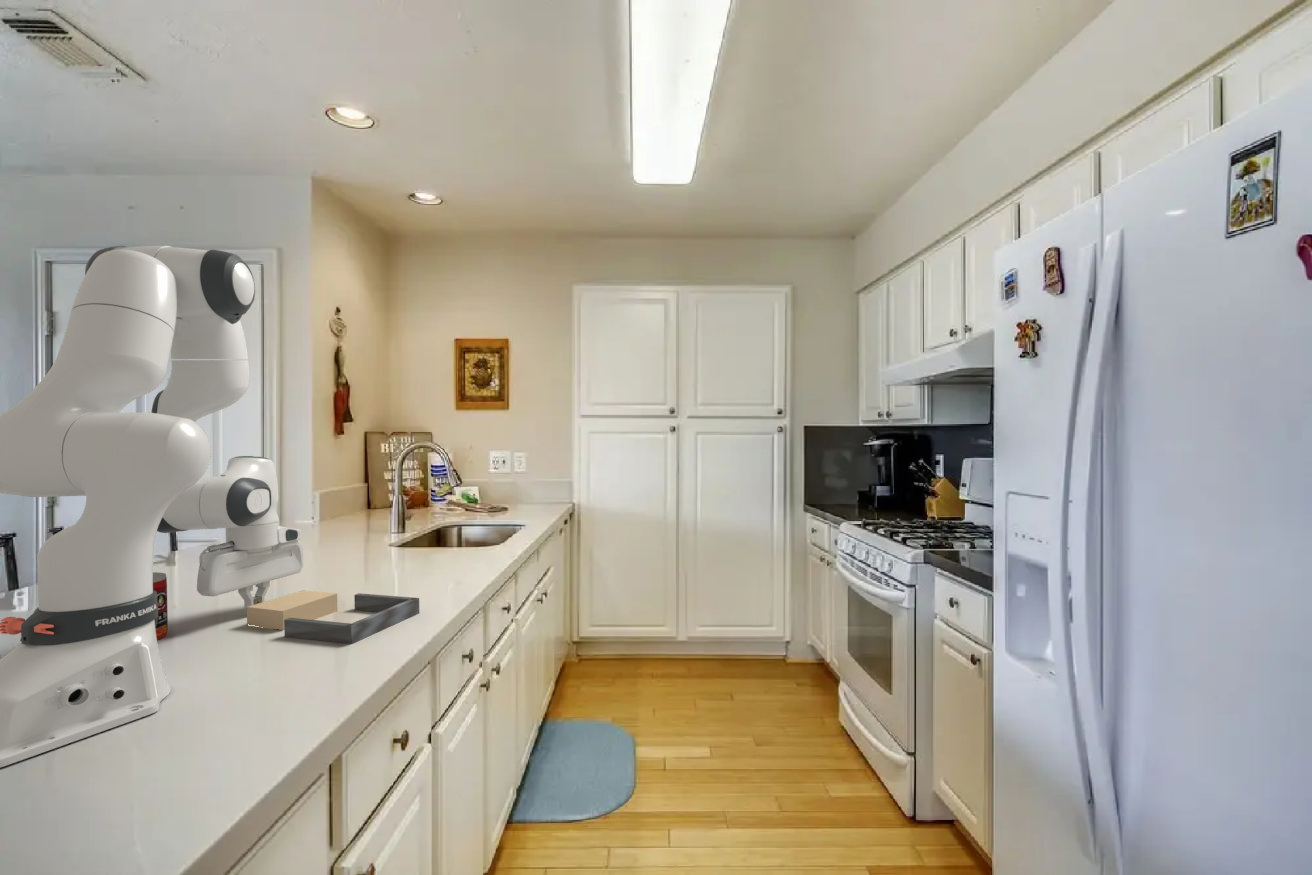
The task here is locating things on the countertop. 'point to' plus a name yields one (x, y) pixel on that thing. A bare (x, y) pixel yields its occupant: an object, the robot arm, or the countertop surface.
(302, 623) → the dark grey piece
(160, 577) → the canned food
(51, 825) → the countertop surface
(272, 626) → the carton
